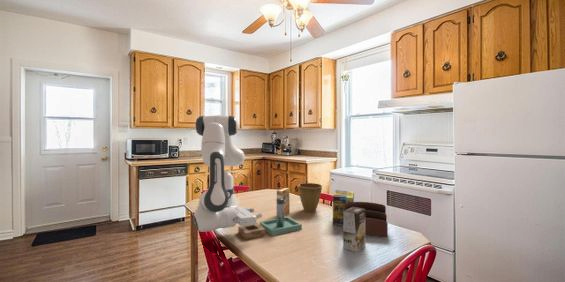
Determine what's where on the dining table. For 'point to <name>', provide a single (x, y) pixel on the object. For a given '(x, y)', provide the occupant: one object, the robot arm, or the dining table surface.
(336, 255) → the dining table surface
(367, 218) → the letter holder
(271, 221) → the tray
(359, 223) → the coffee box
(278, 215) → the spice jar
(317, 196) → the plant pot
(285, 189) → the candy box
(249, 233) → the socket block
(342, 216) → the protein box
